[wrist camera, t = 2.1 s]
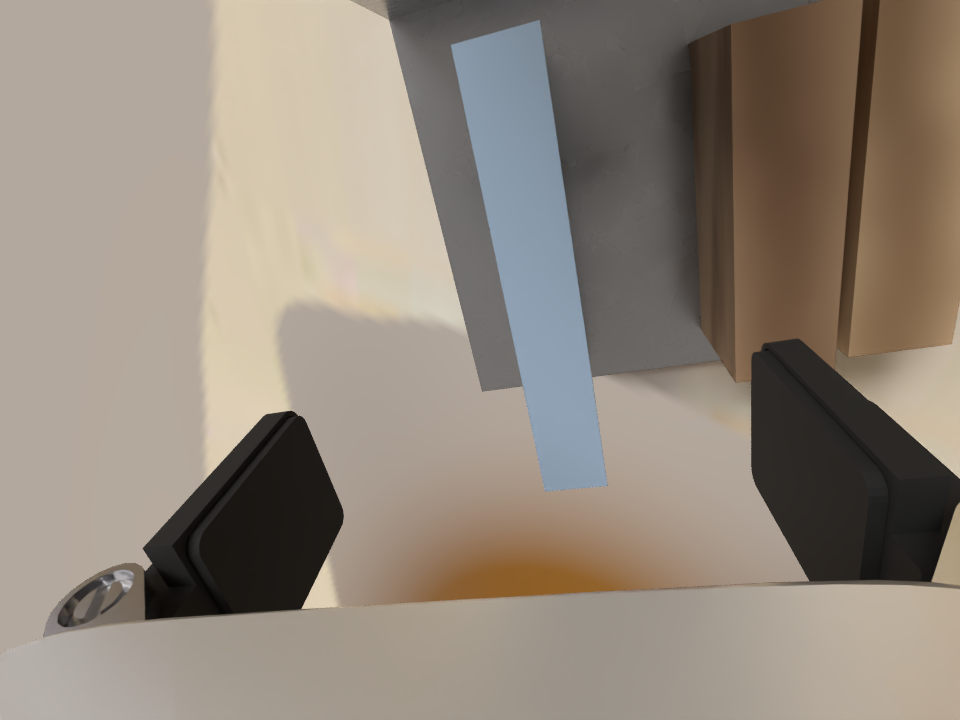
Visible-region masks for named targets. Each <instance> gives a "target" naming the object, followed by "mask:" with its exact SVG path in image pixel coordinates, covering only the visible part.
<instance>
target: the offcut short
mask: <svg viewBox="0 0 960 720" xmlns="http://www.w3.org/2000/svg"><path fill="white" fill-rule="evenodd" d="M959 301H960V0H863V7H862V20H861V33H860V46H859V59H858V71H857V84H856V97H855V110H854V123H853V136H852V149H851V162H850V175H849V188H848V201H847V214H846V227H845V240H844V253H843V266H842V279H841V292H840V305H839V318H838V330H837V343H836V347H837V348H838V349H839V350H840V351H842V352H843V353H844V354H845V355H846V356H847V357H854V356H862V355H870V354H878V353H885V352H893V351H901V350H909V349H917V348H925V347H933V346H940V345H948V344H952V340H953V334H954V329H955V323H956V318H957V312H958V307H959Z"/></svg>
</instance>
